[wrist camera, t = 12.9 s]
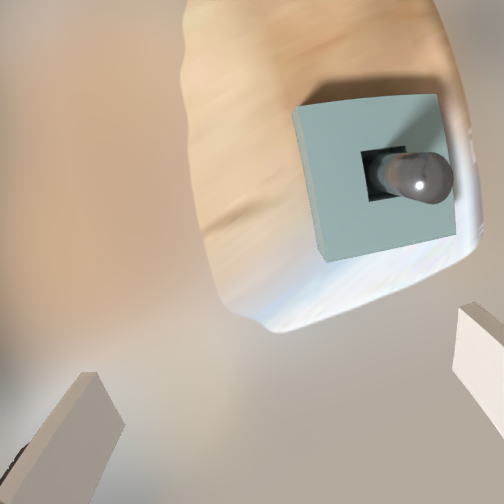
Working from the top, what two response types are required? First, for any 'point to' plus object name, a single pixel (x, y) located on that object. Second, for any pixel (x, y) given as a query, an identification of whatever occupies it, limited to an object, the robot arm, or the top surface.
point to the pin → (410, 175)
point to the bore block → (353, 178)
